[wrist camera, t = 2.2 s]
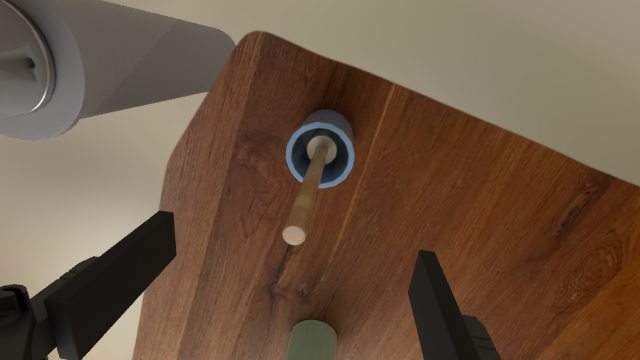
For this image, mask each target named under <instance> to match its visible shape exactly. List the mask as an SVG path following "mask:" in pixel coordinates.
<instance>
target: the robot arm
mask: <svg viewBox="0 0 640 360" xmlns="http://www.w3.org/2000/svg"><path fill="white" fill-rule="evenodd" d="M56 78H57V74H56V65H55V61H54V57H53V54H52V51H51V48H50V46H49V44H48V42H47V40H46V38H45V36H44V35H43V33H42V31H41V30H40V28H39V27H38V26H37V24H36V23H35V22H34V21H33V20H32V19H31V17H30V16H29V15H28V14H27V13H26V12H25V11H23V10H22V9H21V8H20V7H19V6H17V5H16V4H14V3H13V2H11V1H10V0H0V115H1V116H18V115H25V114H30V113H34V112H37V111H39V110H41V109H42V108H43V107H45V106H46V105H47V104H48V103H49V101H50V100H51V98H52V96H53V94H54V91H55V87H56ZM175 256H176V242H175V229H174V215H173V212H166V211H158V212H157V213H156V214H154V215H153V216H152V217H150V218H149V219H148V220H147V221H145V222H144V223H143V224H141V225H140V226H139V227H137V228H136V229H135V230H134V231H132V232H131V233H130V234H128V235H127V236H126V237H124V238H123V239H122V240H121V241H119V242H118V243H117V244H115V245H114V246H113V247H111V248H110V249H109V250H108V251H106V252H105V253H104V254H102V255H101V256H100V257H95V256H93V257H91V258H89V259H87V260H85V261H82V262H80V263H79V264H77V265H76V266H75V267H73V268H72V269H70V270H69V272H66V273H65V274H64V275H62V276H61V277H60V278H59V279H57V280H55V281H54V282H53V283H51V284H50V285H49V286H47V287H46V288H45V289H43V290H42V291H40V292H39V293H38V294H36V295H35V296H34V297H32V298H31V299H30V298H29V295H28V292H27V288H26V287H25V286H23V285H16V284H13V285H6V286H2V287H0V360H48V356H47V355H48V354H49V353H50V352H51V351H53V349H55V348H56V347H57V350H58V354H59V357H60V358H61V359H67V360H82V358H83V357H84V356H85V355H86V354H87V353H88V352H89V351H90V350H91V349H92V348H93V346H94V345H95V344H96V343H97V342H98V341H99V340H100V339H101V338H102V337H103V336H104V334H105V333H106V332H107V331H108V330H109V329H110V328H111V327H112V326H113V324H114V323H115V322H116V321H117V320H118V319H119V318H120V317H121V316H122V314H124V312H125V311H126V310H127V309H128V308H129V307H130V306H131V305H132V304H133V303H134V301H135V300H136V299H137V298H138V297H139V296H140V295H141V294H142V293H143V292H144V290H145V289H146V288H147V287H148V286H149V285H150V284H151V283H152V282H153V281H154V280H155V278H156V277H157V276H158V275H159V274H160V273H161V272H162V271H163V270H164V269H165V267H166V266H167V265H168V264H169V263H170V262H171V261H172V260H173V259H174V258H175ZM408 295H409V299H410V303H411V307H412V311H413V315H414V320H415V324H416V328H417V332H418V336H419V340H420V345H421V349H422V353H423V357H424V360H501V358H500V356H499V354H498V352H497V351H496V348H495V346H494V344H493V342H492V341H491V338H490V336H489V334H488V332H487V330H486V328H485V327H484V326H483V325H482V324H481V322H480V321H479V320H478V319H477V318H476V317H473V316H467V315H462V314H461V312H460V310H459V307H458V305H457V303H456V300H455V298H454V296H453V294H452V291H451V289H450V287H449V284H448V282H447V280H446V277H445V275H444V273H443V270H442V268H441V266H440V263H439V261H438V259H437V256H436V254H435V252H431V251H424V250H419V254H418V257H417V261H416V264H415V268H414V272H413V275H412V279H411V283H410V286H409V290H408Z"/></svg>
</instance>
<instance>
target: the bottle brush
mask: <svg viewBox="0 0 640 360" xmlns="http://www.w3.org/2000/svg"><path fill="white" fill-rule="evenodd" d="M338 141H339V135H338V134H336V133H334V132H333V131H331V130H329V129H323V128H317V129H316V130H315V132H314V134H313V135H312V137H311V139H310V141H309V143H308V146H307V154H308V156H309V158H310V159H311V162H310V164H309V167H308V169H307V172H306V174H305V177H304V179H303V182H302V184H301V187H300V189H299V192H298V194H297V197H296V199H295V202H294V204H293V207H292V209H291V212H290V214H289V217H288V219H287V222H286V224H285V227H284V229H283V232H282V235H283V238H284V240H285V241H286V242H287V243H289V244H291V245H299V244H301V243H303V242H304V241H305V239H306V235H307V232H308V228H309V224H310V220H311V216H312V212H313V208H314V204H315V200H316V196H317V192H318V188H319V185H320V181H321V177H322V173H323V169H324V165H325V164H328V163H330V162H331V161H333V160H334V158H335V157H336V154H337V148H338Z"/></svg>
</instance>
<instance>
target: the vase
mask: <svg viewBox="0 0 640 360" xmlns="http://www.w3.org/2000/svg"><path fill="white" fill-rule="evenodd" d="M337 342H338V338H337V334H336V332H335V331H334V329H333V328H332V327H331V326H329V325H328V324H326V323H324V322H322V321H318V320H304V321H301V322H299V323H297V324H296V325H295V326H294V327H293V328H292V330H291V333H290V337H289V341H288V345H287V350H286V354H285V359H284V360H337Z"/></svg>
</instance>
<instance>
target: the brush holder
mask: <svg viewBox="0 0 640 360" xmlns="http://www.w3.org/2000/svg"><path fill="white" fill-rule="evenodd" d="M317 128H323V129H329V130H331V131H333V132H334V133H336V134H338V135H339V141H338V148H337V154H336V157H335V158H334V160H333V161H331V162H330V163H328V164H325V165H324V169H323V173H322V177H321V181H320V185H319V188H327V187H332V186H335V185H337V184H338V183H340V182H341V181H343V180H344V179H345V178H346V177H347V176H348V174H349V173H350V171H351V169H352V167H353V163H354V156H355V151H354V134H353V129H352V126H351V124H350V123H349V121H348V120H347V119H346V118H345V117H344V116H343V115H342V114H340V113H338V112H336V111H333V110H319V111H316V112H314V113H312V114H310V115H309V116H308V117H307V118H306V119H304V121H303V122H302V123H301V124H300V126H299V127H298V128H297V129H296V131H295V132H294V133H293V134H292V136H291V138H290V140H289V142H288V144H287V148H286V161H287V164H288V166H289V169H290V171H291V173H292V174H293V175H294V176H295V177H296V178H297V180H299V181H300V182H303V179H304V177H305V174H306V172H307V169H308V167H309V164H310V162H311V159H310V158H309V156H308V154H307V146H308V143H309V141H310V139H311V137H312V135H313V134H314V132H315V130H316V129H317Z"/></svg>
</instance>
